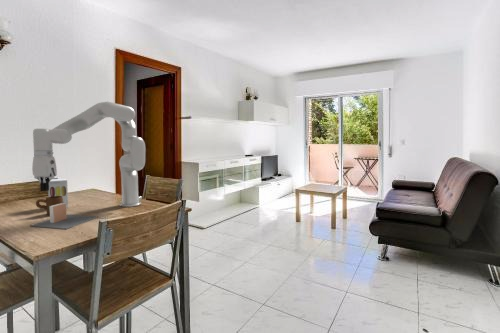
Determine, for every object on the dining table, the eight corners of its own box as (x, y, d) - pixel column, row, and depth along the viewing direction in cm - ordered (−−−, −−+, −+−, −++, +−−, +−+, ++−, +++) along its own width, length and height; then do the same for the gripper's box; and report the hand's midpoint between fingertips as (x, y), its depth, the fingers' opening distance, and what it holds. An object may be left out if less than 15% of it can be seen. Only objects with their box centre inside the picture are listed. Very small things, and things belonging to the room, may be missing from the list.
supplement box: (49, 210, 163) (47, 181, 162) (48, 207, 171) (47, 179, 169) (68, 207, 169) (67, 179, 167) (67, 204, 176) (66, 178, 175)
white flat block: (62, 218, 145) (61, 203, 144) (66, 218, 144) (65, 203, 143) (50, 222, 138) (49, 206, 137) (54, 222, 137) (53, 206, 137)
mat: (66, 215, 152) (66, 214, 152) (98, 217, 148) (98, 216, 148) (30, 226, 133) (30, 225, 133) (66, 229, 129) (66, 228, 129)
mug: (37, 218, 146) (35, 200, 146) (36, 215, 152) (35, 197, 151) (64, 214, 154) (63, 197, 153) (62, 211, 160) (61, 195, 159)
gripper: (62, 154, 142) (63, 190, 143) (38, 153, 145) (39, 188, 146) (49, 154, 134) (50, 192, 136) (23, 153, 137) (25, 191, 139)
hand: (44, 190), depth 141 cm, fingers closed
